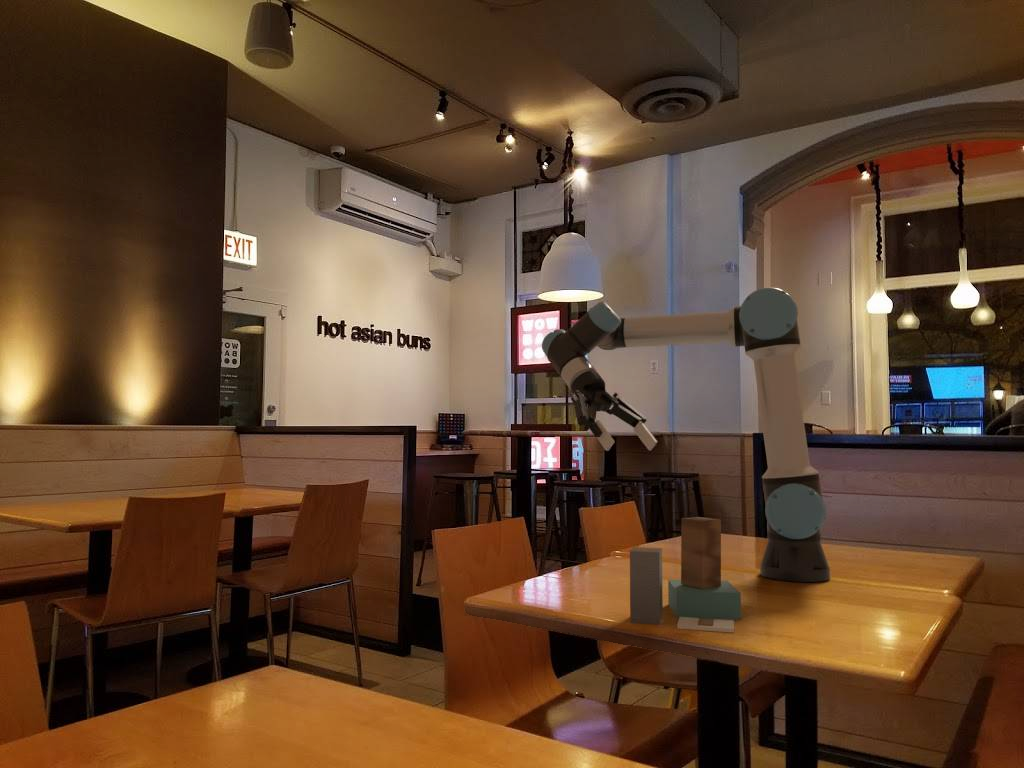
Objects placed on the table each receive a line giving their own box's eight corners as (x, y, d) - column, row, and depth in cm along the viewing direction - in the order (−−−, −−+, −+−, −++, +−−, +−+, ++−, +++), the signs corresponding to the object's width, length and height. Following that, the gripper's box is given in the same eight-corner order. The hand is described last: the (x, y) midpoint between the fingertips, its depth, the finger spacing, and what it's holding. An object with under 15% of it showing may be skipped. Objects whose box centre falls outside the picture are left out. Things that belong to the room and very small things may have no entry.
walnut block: (699, 581, 141) (699, 517, 142) (720, 586, 136) (721, 519, 137) (681, 584, 138) (681, 518, 139) (702, 588, 134) (702, 520, 135)
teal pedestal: (727, 607, 142) (727, 580, 142) (741, 621, 131) (740, 592, 131) (668, 606, 142) (668, 579, 143) (677, 620, 131) (676, 591, 132)
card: (734, 624, 127) (733, 619, 127) (734, 632, 122) (734, 627, 122) (679, 620, 130) (679, 615, 130) (677, 628, 124) (677, 623, 124)
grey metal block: (662, 617, 132) (662, 548, 133) (660, 624, 127) (659, 552, 128) (634, 615, 133) (633, 547, 134) (630, 622, 128) (629, 551, 129)
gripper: (612, 395, 185) (660, 457, 172) (535, 390, 170) (582, 458, 157) (628, 372, 181) (679, 434, 169) (551, 365, 166) (600, 433, 153)
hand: (632, 446), depth 163 cm, fingers open, 13 cm apart
